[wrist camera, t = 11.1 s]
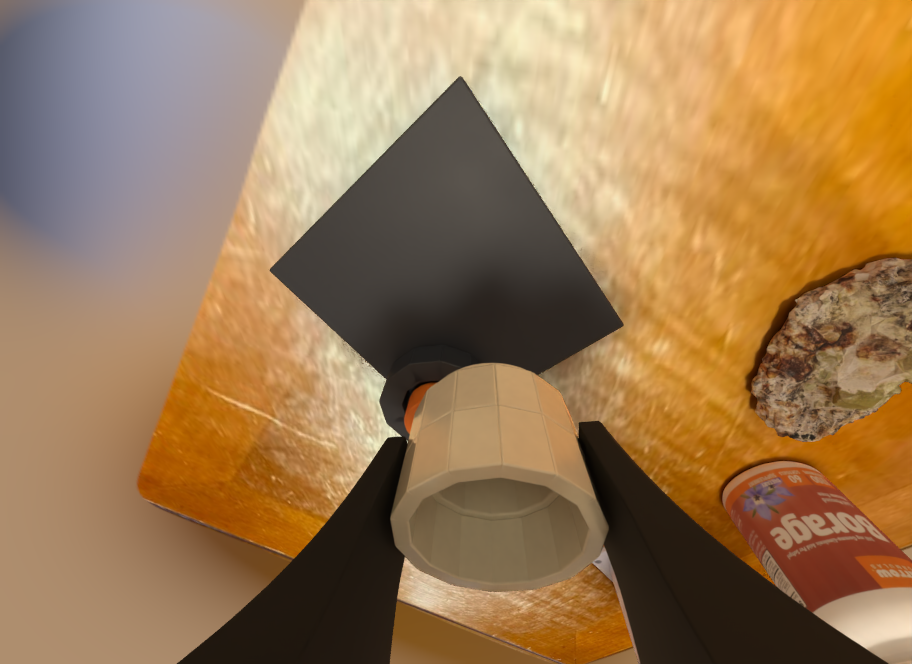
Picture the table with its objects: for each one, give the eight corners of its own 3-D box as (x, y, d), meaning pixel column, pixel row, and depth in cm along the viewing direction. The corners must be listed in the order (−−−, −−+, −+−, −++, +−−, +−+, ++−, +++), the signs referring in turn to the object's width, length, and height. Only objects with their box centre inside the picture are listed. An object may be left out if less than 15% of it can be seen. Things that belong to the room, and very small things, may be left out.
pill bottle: (819, 446, 21) (1101, 693, 12) (818, 504, 24) (1048, 746, 14) (713, 470, 23) (883, 706, 13) (722, 522, 26) (871, 751, 16)
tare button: (475, 408, 18) (475, 429, 17) (434, 432, 19) (430, 454, 18) (440, 371, 17) (436, 391, 16) (397, 399, 18) (391, 419, 17)
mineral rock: (901, 230, 13) (1145, 317, 12) (831, 217, 17) (1011, 282, 16) (711, 419, 18) (866, 491, 17) (689, 377, 22) (817, 434, 21)
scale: (618, 319, 18) (642, 349, 15) (436, 425, 23) (431, 462, 20) (461, 81, 14) (458, 65, 11) (272, 272, 18) (236, 294, 15)
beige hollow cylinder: (595, 429, 13) (648, 555, 9) (476, 486, 15) (476, 610, 11) (510, 326, 11) (528, 427, 7) (386, 407, 13) (346, 522, 9)
